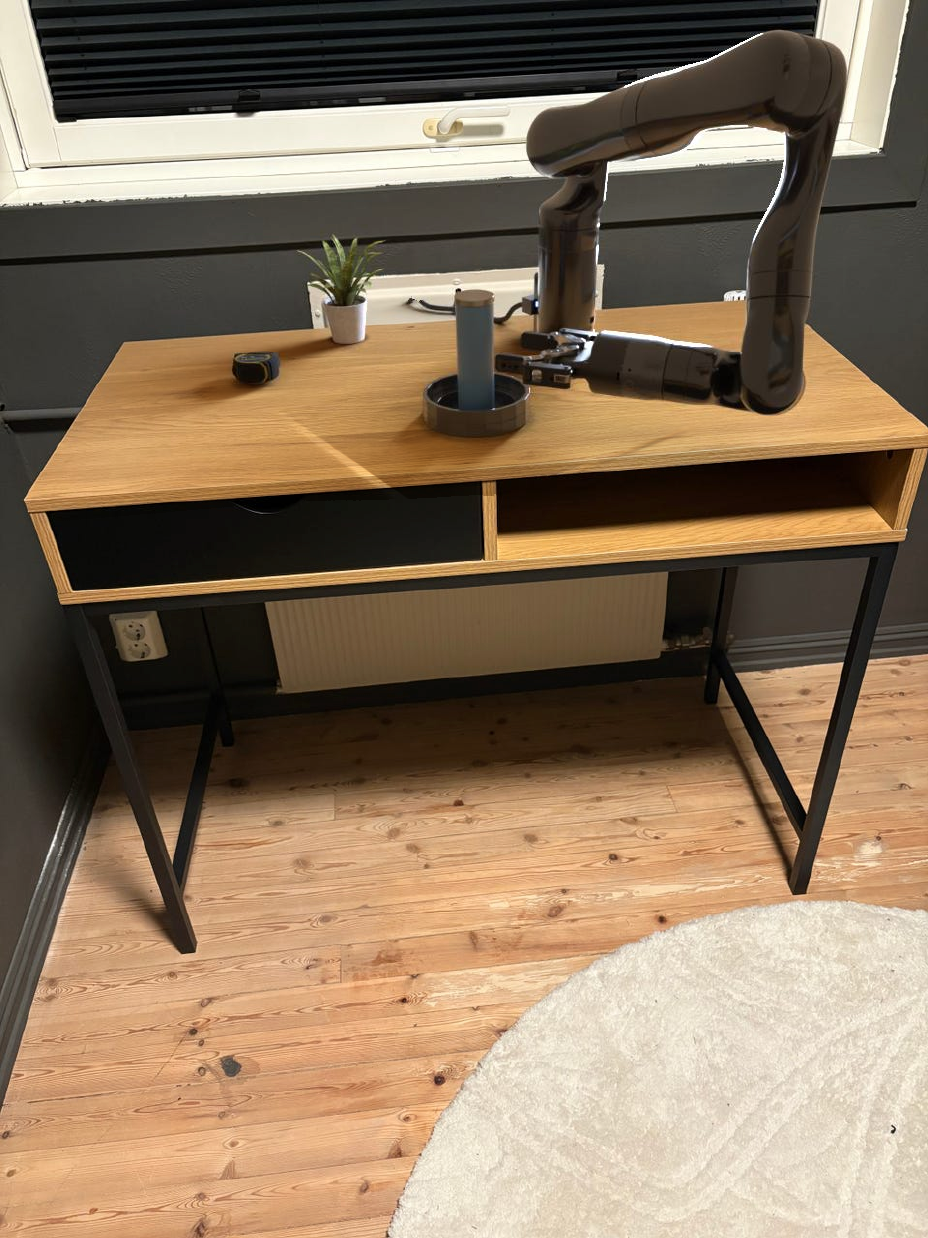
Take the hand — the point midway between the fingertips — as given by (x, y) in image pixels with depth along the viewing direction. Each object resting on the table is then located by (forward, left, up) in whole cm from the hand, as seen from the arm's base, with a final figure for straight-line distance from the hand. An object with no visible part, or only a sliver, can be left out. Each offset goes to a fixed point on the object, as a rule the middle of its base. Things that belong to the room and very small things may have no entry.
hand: (509, 350), depth 119 cm
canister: (-4, -2, -10) cm, 11 cm away
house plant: (-43, +2, -10) cm, 44 cm away
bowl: (-4, -2, -10) cm, 11 cm away
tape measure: (-37, -19, -10) cm, 43 cm away
